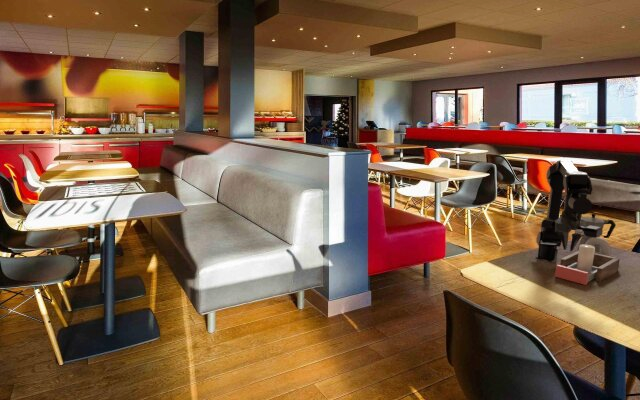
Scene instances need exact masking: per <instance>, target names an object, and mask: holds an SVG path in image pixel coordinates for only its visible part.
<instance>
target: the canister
mask: <svg viewBox="0 0 640 400" xmlns="http://www.w3.org/2000/svg"><path fill="white" fill-rule="evenodd" d="M578 247H579V246H578ZM594 253H595V247H594V246H591V245H585V244H582V245H580V247H579V254H578V260H577V267H576V269H577V270H581V271H584V272H588V273H591V271H592V265H593V259H594Z"/></svg>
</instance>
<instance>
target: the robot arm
mask: <svg viewBox="0 0 640 400" xmlns="http://www.w3.org/2000/svg"><path fill="white" fill-rule="evenodd" d="M546 171H547V172H546V179H547V181H546V182H547V183H548V184H547V185H548V186H549V187H550V192H549V197H548V205H547V206H548V207H547V213H546V218H544V219H543V220H541V223H540V231H539V232H538V234H537V236H536V244H537V245H538V251H537V256H535V258H536V259H539V260H542V261H543V260H544V261H547V262H554V261H555V260H557V259H558V253H559V249H558V248H560V247H561V246H562V248H563V250H564V251H566V250H567V247H568V242H569V234H570V232H571V231H574V232H573V233H572V234H571V242H570V247H569V251H570V252H573V251H574V249H575V247H576V246H577V245H578V242H580V240H581V238H582V236H584V235H585V236H589V237H594V238H597V237H599V236H600V237H601V236H603V230H602V228H601V227H597V226H591V225H590V226H588V227H582V226H580V225H582V222H581V218H583V217H582V216H583V215H586V214H588V213H590V211H592V208H593V204H592V201H591V200H590V199H589V198H587V195H592V191H593V185H592V180H591V178H590V176H589V175H588V173H587V172H583V171H579V170H578V168H576V167H575V166H574V164H573V161H572V160H568V159H563V160H562V159H559V160H557V161H556V163H554V164H552V165H550V166H548V169H547V170H546ZM563 192H564V193H565V197H564V206H563V210H561V205H562V200H563V199H562V198H563ZM560 211H561V212H560ZM560 213H561V215H560Z"/></svg>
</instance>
